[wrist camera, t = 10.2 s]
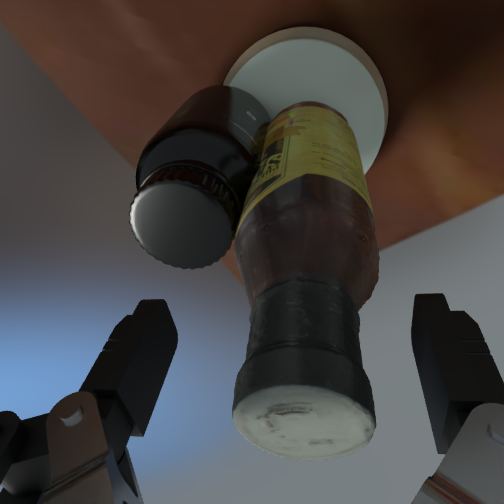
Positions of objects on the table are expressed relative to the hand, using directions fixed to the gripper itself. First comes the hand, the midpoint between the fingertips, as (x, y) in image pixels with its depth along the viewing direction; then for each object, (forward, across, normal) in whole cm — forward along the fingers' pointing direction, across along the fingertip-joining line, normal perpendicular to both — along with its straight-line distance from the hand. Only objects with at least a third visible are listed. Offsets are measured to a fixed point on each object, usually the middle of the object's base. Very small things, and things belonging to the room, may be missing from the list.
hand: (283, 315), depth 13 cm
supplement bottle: (+17, +5, 0) cm, 18 cm away
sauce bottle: (+17, 0, +1) cm, 17 cm away
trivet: (+20, 0, 0) cm, 20 cm away
